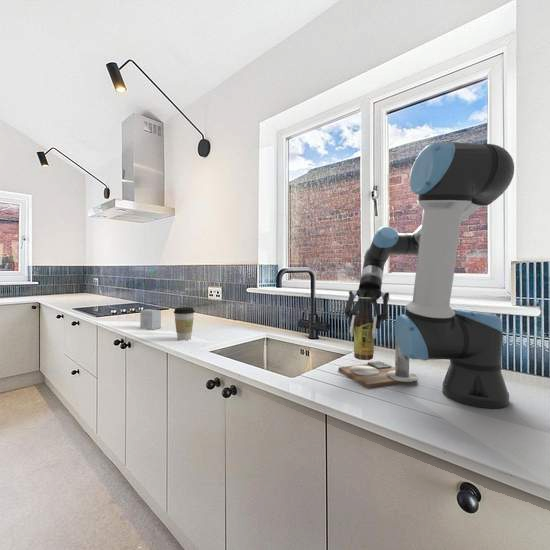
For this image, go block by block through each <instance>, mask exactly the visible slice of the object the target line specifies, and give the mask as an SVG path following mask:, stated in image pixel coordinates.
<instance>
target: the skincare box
mask: <svg viewBox="0 0 550 550" xmlns="http://www.w3.org/2000/svg"><path fill="white" fill-rule="evenodd" d="M139 313H140V314H139V315H140V319H139V320H140V322H139V323H140V325H139V326H140V327H139V329H143V328H146V329H145V330H150V329H153V330H157V328H159V329H161V328H162V327H161V326H162V325H161V324H162V321H161V320H162V310H159V309H147V308H146V309H140V312H139Z"/></svg>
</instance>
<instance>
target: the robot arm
mask: <svg viewBox="0 0 550 550" xmlns="http://www.w3.org/2000/svg"><path fill="white" fill-rule="evenodd" d="M514 173H515V163H514V159H513V157H512V156H511V154H510V153H509V152H508V151H507V150H506V149H505V148H504V147H502V146H500V145H497V144H494V143H492V144H491V143H471V142H468V143H467V142H455V141H447V142H446V141H445V142H433V143H430V144H428V145H427V146H425V147H424V148H423V149H422V150H421V151H420V152H419V154H418V156H417V157H416V158H415V160H414V162H413V164H412V167H411V170H410V175H409V186H410V191H411V192H412V193H413V194H415V195H417V204H418V205H419V206H420V207H421V208H422V214H421V215H422V218H421V224H420V226H418V228H417V229H416V230H415V231H414V232H413V233H399V232H398V230H396V229H395V228H393V227H390V226H386V225H385V226H381V227H379V228H378V230H377V231H376V232H375V235H374V237H373V238H372V241H371V243H370V246H369V248H368V249H366V251H365V254H364V256H363V257H364V260H363V264H362V270H361V276H360V280H359V285H358V289H357V290H356V291H352V290H350V291H348V299H347V302H346V305H345V309H344V314H345V315H344V316H345V317H346V318H348V320H347V321H348V322H347V323H348V326H349V334H350V337H354V330H355V318H356V315H357V314H358V312H359V297H367V298H372V302H371V304H372V305H373V308H374V312H375V316H373V321H374V322H373V329H372V337H373V339H374V340H375V339H376V336H377V329H378V330H380V329H381V325H382V324H381V323H382V321H387V320H388V302H389V301H390V292H385V293H383V292H382V284H383V283H382V282H383V278H384V269H385V266H386V265H385V264H386V262H387V261H388V259H389V257H390V256H392V255H393V256H394V255H395V256H396V255H403V256H405V255H407V256H409V255H410V256H414V255H416V256H417V261H416V270H415V278H414V288H413V295H412V301H411V302H409V303H408V304H406V305H405V311H404V313H405V314H399V315H398V316H397V317H396V319H395V320H394V328H393V329H394V335H395V341H396V340H397V343H398V346H399V348H400V350H401V351H402V353H403V354H404V355H405V356H406V357H408V358H409V360H418V361H420V360H421V361H429V360H431V361H433V360H449V366H448V369H447V371H446V373H445V377H444V379H443V381H442V393H443V394H444V395H445V396H446V397H448V398H450V399H451V400H453V401H456V402H458V403H461V404H464V405H468V406H473V407H478V408H485V409H502V408H506V407H508V406H509V405H510V393H509V391H508V388H507V386H506V385H507V384H506V382H505V378H504V376H503V374H502V355H503V353H502V352H503V351H502V350H503V349H502V348H503V334H504V331H503V326H502V325H503V324H502V323H503V322H502V319H501V318H500V316H498V315H497V314H496V315H495V314H492V313H487V312H480V311H474V310H467V309H462V308H460V309H459V308H452V307H451V306H450V304H451V297H452V291H453V282H454V275H455V269H456V262H457V253H458V246H459V240H460V234H461V225H462V222H463V221H465V220H466V219H467V218H469V217H470V216H471V215H472V214H473V213H474V212H476V211H477V210H479V208H481V207H486V206H489V205H491V204H493V202H495V201H496V200H497V199H498V198H500V197H501V196H502V195H503V194H504V193H505V192H506V190H507V189H508V188H509V186H510V185H511V182H512V181H513V178H514V175H515V174H514ZM357 297H358V299H357V301H356V303H355V304H354V300H355V299H356V298H357ZM380 298H382V313H381V311H380V308H379V304H378V300H379V299H380ZM352 307H353V308H352Z"/></svg>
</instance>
